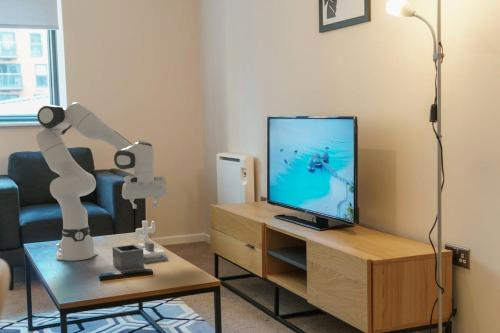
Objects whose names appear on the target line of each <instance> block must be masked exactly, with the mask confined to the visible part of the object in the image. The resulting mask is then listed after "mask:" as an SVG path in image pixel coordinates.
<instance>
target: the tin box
mask: <svg viewBox="0 0 500 333" xmlns="http://www.w3.org/2000/svg"><path fill="white" fill-rule="evenodd" d="M112 262H113V263H112V264H113V266H114V267H115V268H117V269H118V270H119V271H122V270H124V271H130V270H134V269H135V270H136V269H143V268H145V263H144V256H143V249H142V248H140V247H138V245H137V244H134V243H133V244H127V245H126V244H125V245H120V246H119V245H117V246H112ZM129 269H130V270H129ZM122 272H123V271H122Z"/></svg>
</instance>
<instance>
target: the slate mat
mask: <svg viewBox="0 0 500 333" xmlns="http://www.w3.org/2000/svg"><path fill="white" fill-rule="evenodd" d="M167 260H169V257H168V256H166V254H162V255H161V257H157V258H150V259H145V258H144V264H145V263H153V262H160V261H167Z"/></svg>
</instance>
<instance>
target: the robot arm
mask: <svg viewBox="0 0 500 333" xmlns="http://www.w3.org/2000/svg"><path fill="white" fill-rule="evenodd" d="M37 120H38V121H37V122H39V124H40V125H41V126H42V127H43V128H41V129H40V130H39V131H38V132H37V134H36V137H35V138H36V142H37V146H38V148H39V150H40V153H41V154H42V157H43V159H44V160H45V162H46V163H47V165H48V167H49V169H50V170H51V171H52V172H54V173H56V174H57V175H59V176H58V177H56V178H54V179H53V180H52V181H51V182H50V185H49V192H50V194H51V196H52V197H53V198H54V199H55V200H57V202H58V204H59V206H60V209H61V214H62V223H63V225H62V226H63V228H62V232H61V233H62V237H61V240H60V242H59V243H56V246H57V249H59V250H58V251H56V252H55V253H56V261H69V262H70V261H73V262H74V261H84V260H87V259H88V260H89V259H91V258H93V257H96V256H98V252H96V251H95V246H94V238H93V237H92V236H91V235H90V226H89V223H88V222H89V221H88V220H89V219H88V218H89V216H88V210H87V208H86V207H85V206H83V204H82V203H81V202H82V201H81V199H80V197H83V196H84V197H85V196H88V195H89V194H91V193H92V192H94V191H95V189H96V186H97V180H96V178H95V176H94V175H93V174H92V173H89V172H88V171H86V170H85V169H84V168H82V167H81V166H80V164H78V163H77V161H75V158H73V156H72V155H71V153H70V151H69V149H68V147H67V146H66V144H65V143H64V140H63V139H62V135H65V134H66V132H67V131H68V130H69V129H71V128H72V127H73V128H74V129H75V130H76V131H77V132H79V133H80V134H81V135H82V136H84V137H85V138H87V139H89V140H91V141H93V140H94V141H99V142H104V143H108V144H109V145H111V146H112V147H113V148H114V149H116V150H117V151H116V152H115V154H114V156H113V162H114V165H115V166H116V168H118V169H119V170H124V171H127V170H132V169H133V171H134V173H132V174H129V175H127V176H125V177H124V178H123V181H124V183H123V185H122V187H121V196H122V198H123V199H124V200H129V202H130V203H131V205H132V209H134V210H135V209H137V206H138V204H136V203H135V200H136V199H148V198H149V199H150V198H154V199H155V200H154V202H152V207H153V208H157V206H158V205H157V203H158V202H159V200H160V198H162V197H163V198H164V197H166V196H167V187H166V185H167V179H166V178H165V177H164V176H155V168H154V162H155V155H154V154H155V153H154V148H153V145H152V144H151V143H150V142H148V141H141V140H140V141H136V142H134V143H131V142H130V141H129V140H128V139H127V138H125V137H124V136H123V135H121V134H120V133H119V132H117V131H116V130H114V128H112V127H111V126H109V125H108V124H107V123H106V122H105V121H104V120H103V119H101V118H100V117H99V116H98V115H97V114H96V113H95V112H94V111H92V110H91V108H88V107H87V106H86V105H84V104H82V103H81V102H78V101H75V102H72V103H70V104H69V105H68V106H66V108H64V107H62V106H59V105H54V104H47V105H43V106H42V107H40V109H39V110H38V111H37Z"/></svg>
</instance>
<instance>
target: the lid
mask: <svg viewBox="0 0 500 333" xmlns="http://www.w3.org/2000/svg"><path fill="white" fill-rule="evenodd" d="M154 244H155V243H154V242H152V241H148V242H145V248H142V249H143V256H144V258H145V259H150V258H157V257H161V255H162V254H163V255H166V252H167V251H166V250H164V249H162V248H159V246H157V245H155V247H154Z"/></svg>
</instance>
